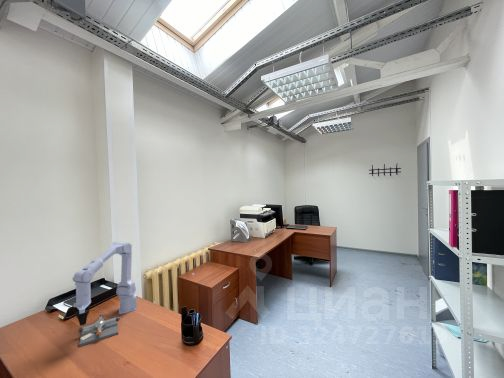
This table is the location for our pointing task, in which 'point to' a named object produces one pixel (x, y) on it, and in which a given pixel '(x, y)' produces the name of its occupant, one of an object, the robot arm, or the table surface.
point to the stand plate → (93, 337)
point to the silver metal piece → (98, 325)
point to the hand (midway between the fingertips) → (83, 320)
